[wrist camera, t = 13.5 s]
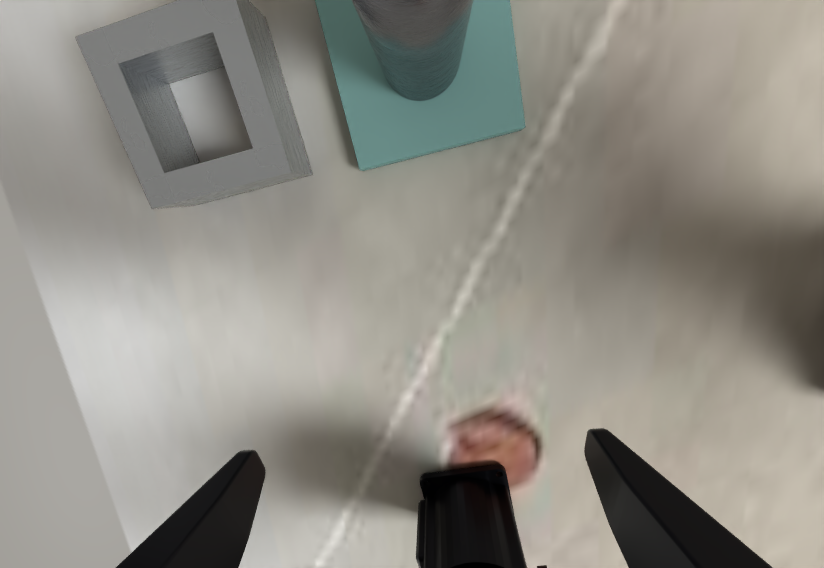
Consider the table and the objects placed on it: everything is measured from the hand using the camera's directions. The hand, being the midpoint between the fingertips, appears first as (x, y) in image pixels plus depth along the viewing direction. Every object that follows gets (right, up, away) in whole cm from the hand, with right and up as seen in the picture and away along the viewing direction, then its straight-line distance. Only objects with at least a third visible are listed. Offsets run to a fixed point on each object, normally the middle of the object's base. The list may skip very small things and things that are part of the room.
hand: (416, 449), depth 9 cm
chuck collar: (-11, +14, +10) cm, 20 cm away
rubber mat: (0, +16, +8) cm, 18 cm away
